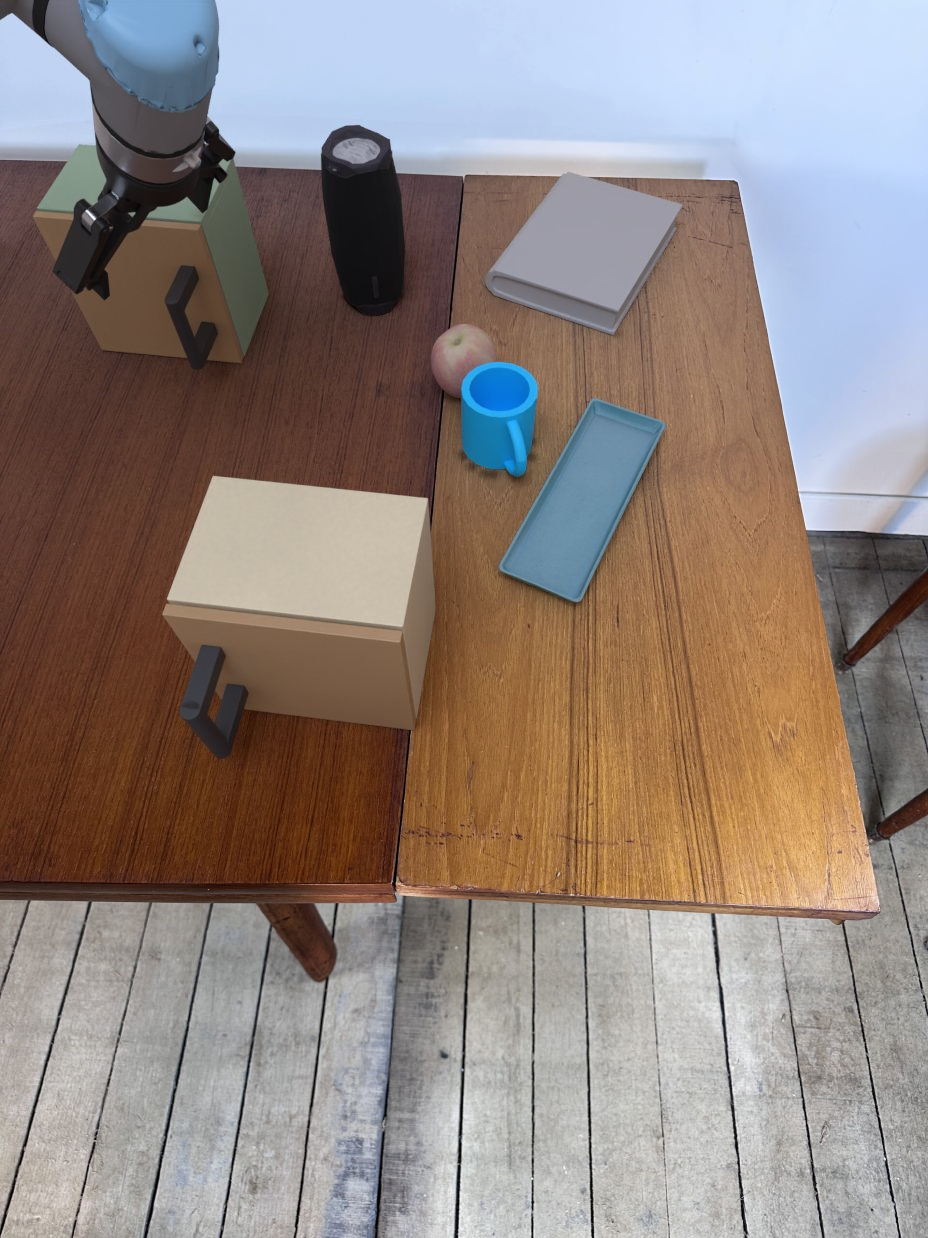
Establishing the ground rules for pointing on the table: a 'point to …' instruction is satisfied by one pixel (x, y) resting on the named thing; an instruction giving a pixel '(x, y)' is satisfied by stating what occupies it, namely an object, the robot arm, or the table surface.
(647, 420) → the rectangular tray
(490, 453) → the mug
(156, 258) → the tan wooden panel
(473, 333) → the apple
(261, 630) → the beige drawer front
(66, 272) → the robot arm
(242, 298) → the green cupboard
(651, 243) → the book
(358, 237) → the portable speaker
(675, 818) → the table surface
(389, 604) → the cream cupboard
